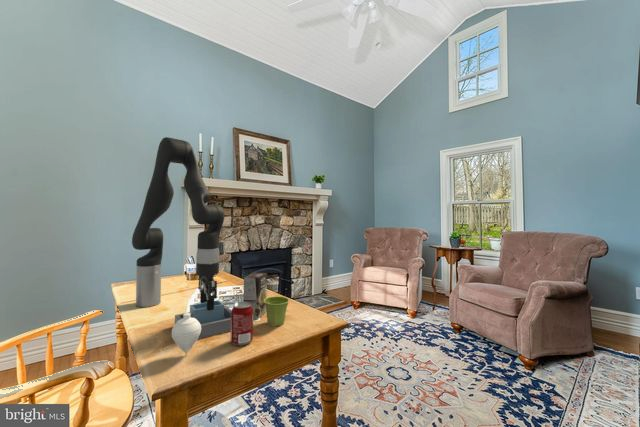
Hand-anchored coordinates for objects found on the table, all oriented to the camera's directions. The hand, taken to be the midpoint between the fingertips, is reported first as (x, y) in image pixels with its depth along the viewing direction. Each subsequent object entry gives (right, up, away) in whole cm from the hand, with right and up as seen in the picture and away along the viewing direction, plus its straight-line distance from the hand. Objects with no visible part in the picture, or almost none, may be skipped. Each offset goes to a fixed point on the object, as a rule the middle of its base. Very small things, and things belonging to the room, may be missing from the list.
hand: (206, 306), depth 99 cm
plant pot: (+24, -8, +5) cm, 26 cm away
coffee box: (+14, -8, +13) cm, 21 cm away
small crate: (0, -7, 0) cm, 7 cm away
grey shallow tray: (0, -8, 0) cm, 8 cm away
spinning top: (+2, -8, -19) cm, 21 cm away
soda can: (+15, -8, -10) cm, 20 cm away
